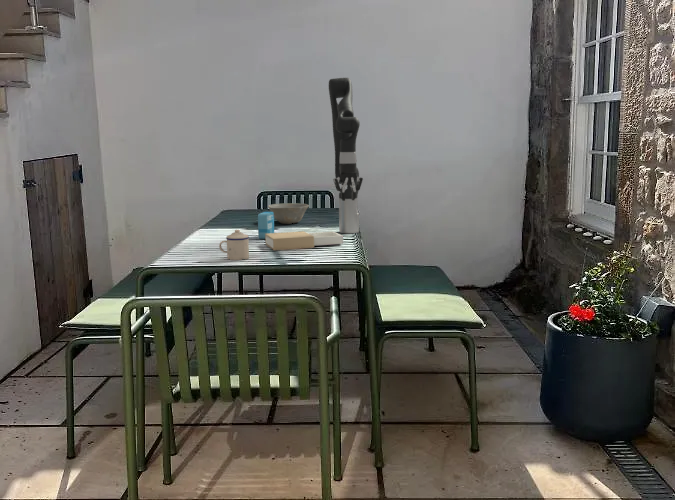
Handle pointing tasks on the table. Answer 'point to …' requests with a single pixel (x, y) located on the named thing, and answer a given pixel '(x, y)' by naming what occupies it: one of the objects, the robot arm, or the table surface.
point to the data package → (265, 224)
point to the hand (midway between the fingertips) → (348, 200)
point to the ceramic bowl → (288, 212)
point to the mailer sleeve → (291, 240)
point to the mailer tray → (319, 238)
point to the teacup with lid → (236, 246)
